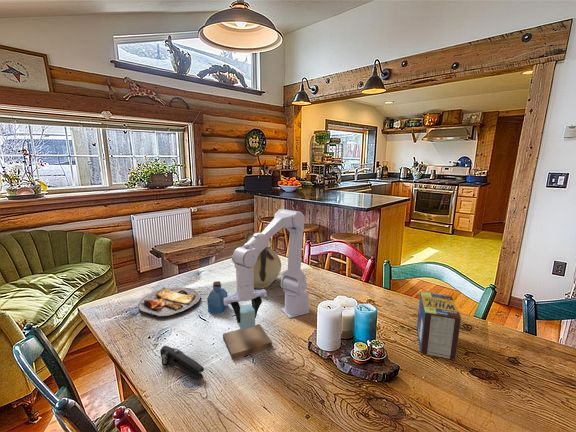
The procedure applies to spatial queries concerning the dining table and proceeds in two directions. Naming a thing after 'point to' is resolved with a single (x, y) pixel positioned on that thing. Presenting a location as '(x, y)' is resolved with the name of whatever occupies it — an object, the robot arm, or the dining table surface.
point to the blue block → (247, 317)
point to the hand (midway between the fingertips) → (246, 319)
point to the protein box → (438, 325)
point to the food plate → (169, 300)
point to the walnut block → (246, 341)
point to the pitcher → (265, 265)
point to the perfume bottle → (217, 299)
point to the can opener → (181, 361)
